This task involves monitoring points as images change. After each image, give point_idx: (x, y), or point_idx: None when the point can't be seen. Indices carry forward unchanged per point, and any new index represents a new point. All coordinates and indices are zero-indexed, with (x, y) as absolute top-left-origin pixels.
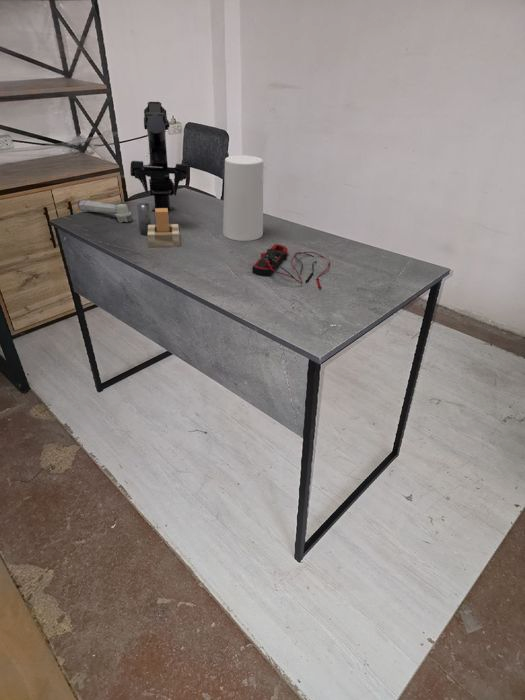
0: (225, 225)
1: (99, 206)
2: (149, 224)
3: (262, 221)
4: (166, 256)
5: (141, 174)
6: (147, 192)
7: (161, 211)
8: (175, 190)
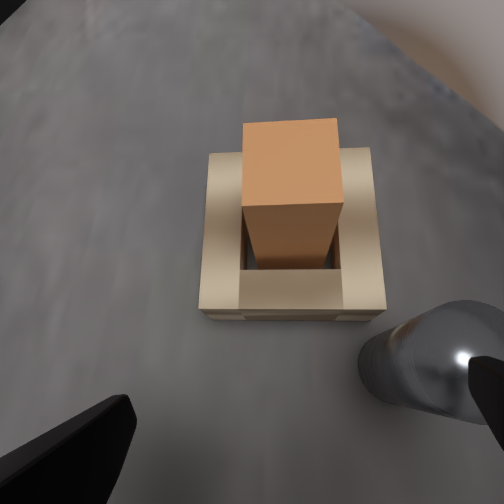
0: None
1: None
2: (379, 337)
3: None
4: (280, 94)
5: None
6: (478, 358)
7: (291, 130)
8: (91, 414)
